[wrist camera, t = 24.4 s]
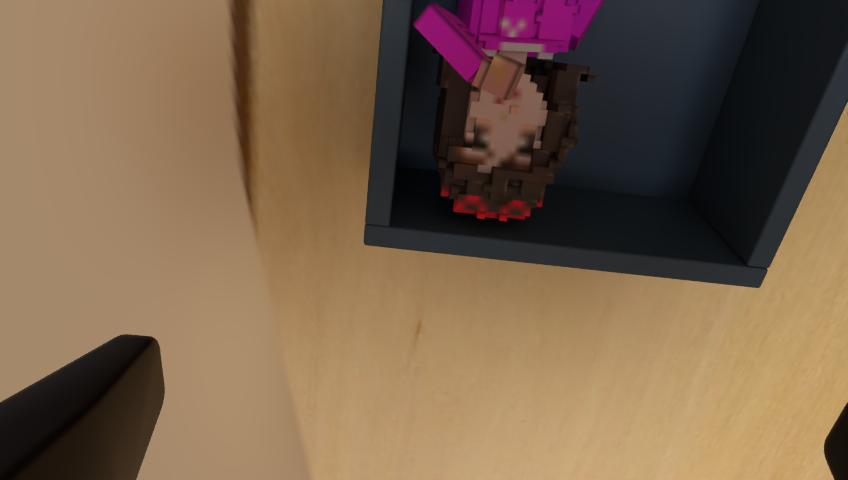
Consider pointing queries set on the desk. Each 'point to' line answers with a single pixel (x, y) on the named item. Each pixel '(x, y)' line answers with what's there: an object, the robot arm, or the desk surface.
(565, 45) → the character figurine
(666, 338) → the desk surface
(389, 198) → the bin
